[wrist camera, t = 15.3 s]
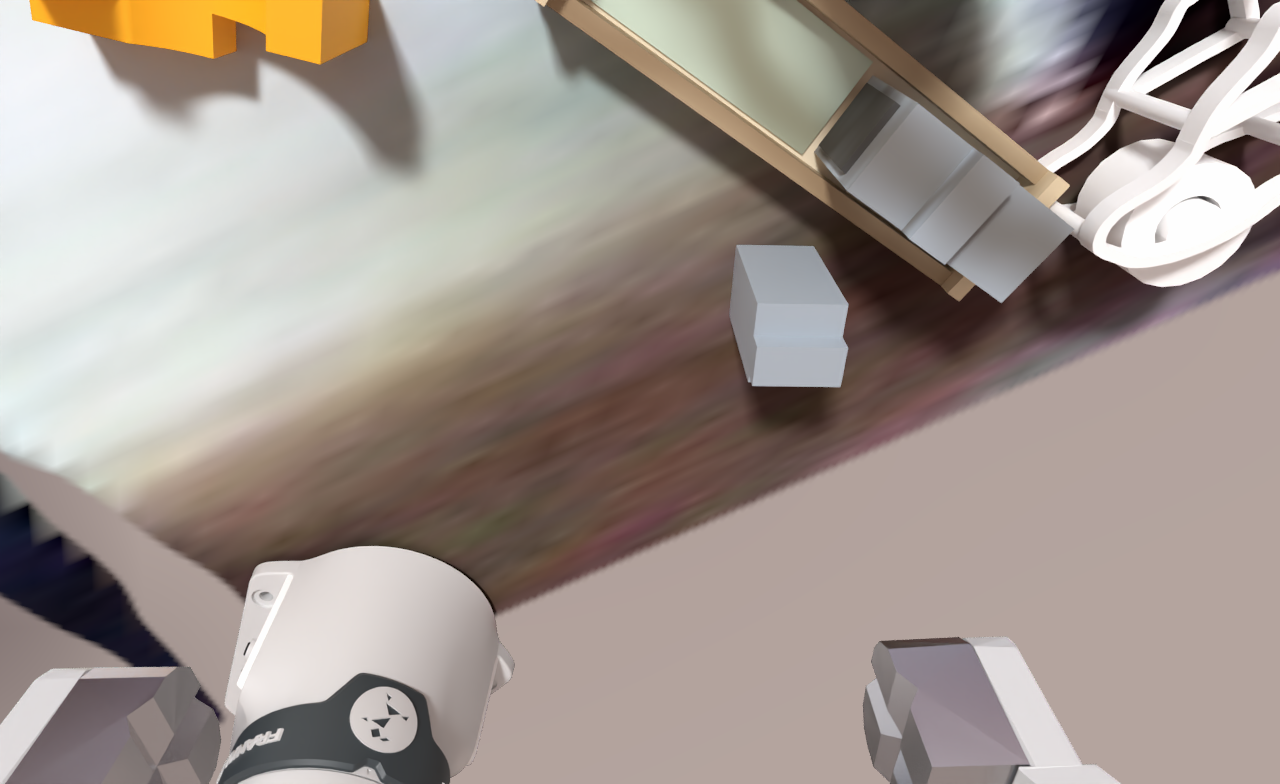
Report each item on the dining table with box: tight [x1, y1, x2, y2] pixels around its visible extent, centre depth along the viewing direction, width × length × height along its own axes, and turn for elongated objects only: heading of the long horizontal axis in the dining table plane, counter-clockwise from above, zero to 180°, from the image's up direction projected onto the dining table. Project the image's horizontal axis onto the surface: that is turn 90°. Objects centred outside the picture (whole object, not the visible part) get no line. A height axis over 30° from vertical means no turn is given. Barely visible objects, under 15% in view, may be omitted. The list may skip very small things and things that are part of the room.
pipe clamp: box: [30, 0, 370, 64], centre depth 30 cm, size 12×4×6 cm, turn 76°
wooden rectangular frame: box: [535, 0, 1074, 303], centre depth 32 cm, size 7×24×8 cm, turn 56°
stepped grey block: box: [729, 245, 848, 387], centre depth 37 cm, size 4×4×8 cm
